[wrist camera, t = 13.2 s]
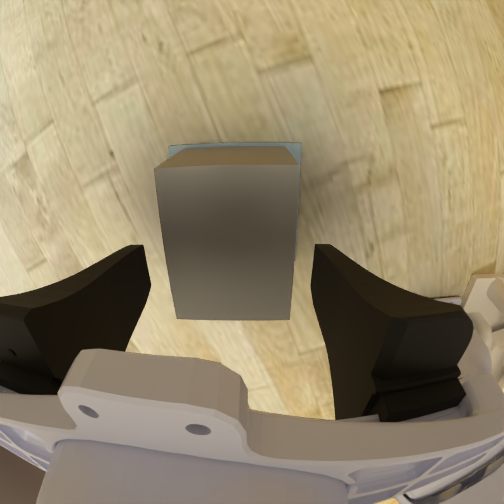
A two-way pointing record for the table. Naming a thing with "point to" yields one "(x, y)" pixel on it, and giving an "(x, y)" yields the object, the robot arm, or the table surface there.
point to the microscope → (488, 316)
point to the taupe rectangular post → (229, 231)
